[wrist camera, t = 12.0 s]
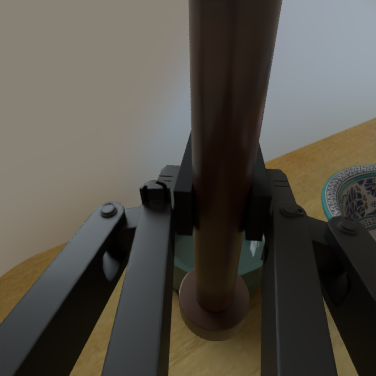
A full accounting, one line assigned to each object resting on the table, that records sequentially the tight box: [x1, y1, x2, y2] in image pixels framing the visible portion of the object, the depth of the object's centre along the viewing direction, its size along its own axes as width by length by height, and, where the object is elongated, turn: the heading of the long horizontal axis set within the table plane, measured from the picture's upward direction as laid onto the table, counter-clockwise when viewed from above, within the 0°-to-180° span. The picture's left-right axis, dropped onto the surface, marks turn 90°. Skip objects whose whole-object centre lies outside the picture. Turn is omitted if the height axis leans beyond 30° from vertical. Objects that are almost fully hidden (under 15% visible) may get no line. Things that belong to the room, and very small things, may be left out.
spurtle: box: [179, 0, 282, 341], centre depth 12 cm, size 5×5×18 cm
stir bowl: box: [173, 228, 265, 294], centre depth 34 cm, size 17×17×6 cm
